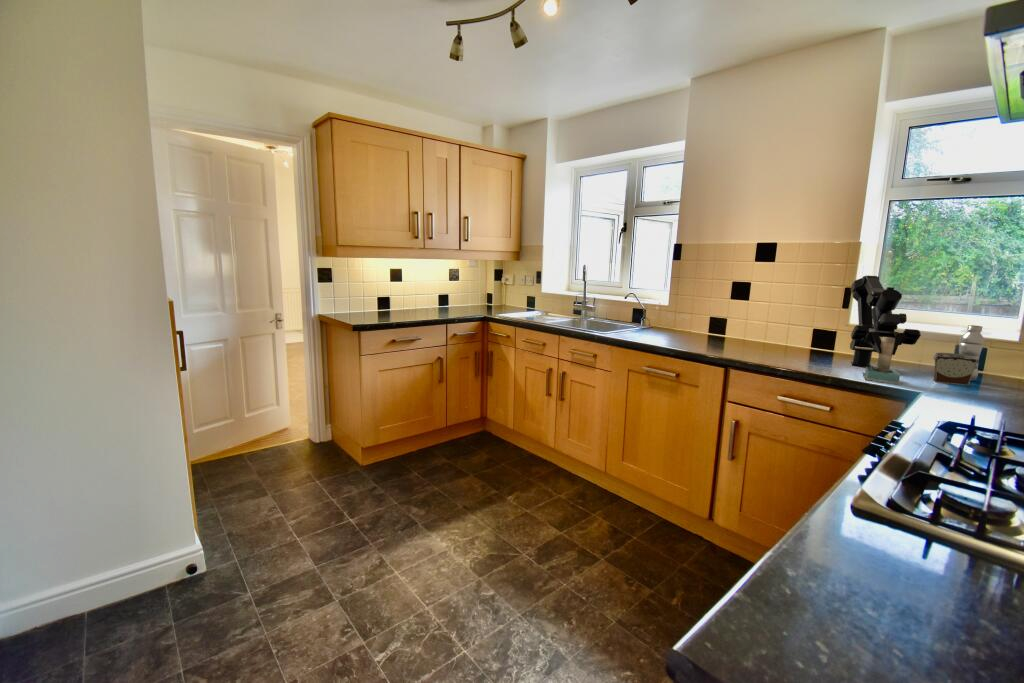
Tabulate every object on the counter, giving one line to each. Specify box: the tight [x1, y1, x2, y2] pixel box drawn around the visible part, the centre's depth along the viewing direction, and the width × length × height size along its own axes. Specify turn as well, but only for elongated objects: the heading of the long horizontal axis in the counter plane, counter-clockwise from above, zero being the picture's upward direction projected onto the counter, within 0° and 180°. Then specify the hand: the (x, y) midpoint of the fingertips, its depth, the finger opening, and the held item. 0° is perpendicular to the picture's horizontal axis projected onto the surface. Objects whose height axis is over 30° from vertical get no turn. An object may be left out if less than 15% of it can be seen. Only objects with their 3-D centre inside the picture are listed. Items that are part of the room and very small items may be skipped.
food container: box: [932, 352, 980, 386], centre depth 164 cm, size 12×6×10 cm, turn 71°
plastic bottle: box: [958, 324, 986, 382], centre depth 166 cm, size 6×7×20 cm
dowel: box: [875, 337, 895, 373], centre depth 162 cm, size 4×4×12 cm
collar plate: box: [862, 366, 902, 385], centre depth 163 cm, size 10×10×3 cm
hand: (886, 353), depth 161 cm, fingers closed on dowel, 4 cm apart
